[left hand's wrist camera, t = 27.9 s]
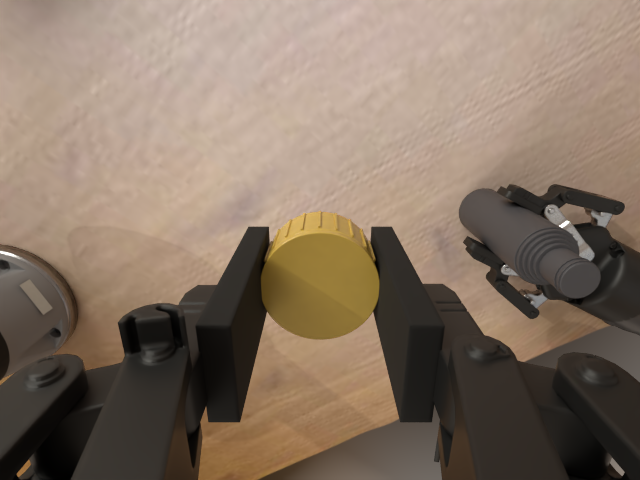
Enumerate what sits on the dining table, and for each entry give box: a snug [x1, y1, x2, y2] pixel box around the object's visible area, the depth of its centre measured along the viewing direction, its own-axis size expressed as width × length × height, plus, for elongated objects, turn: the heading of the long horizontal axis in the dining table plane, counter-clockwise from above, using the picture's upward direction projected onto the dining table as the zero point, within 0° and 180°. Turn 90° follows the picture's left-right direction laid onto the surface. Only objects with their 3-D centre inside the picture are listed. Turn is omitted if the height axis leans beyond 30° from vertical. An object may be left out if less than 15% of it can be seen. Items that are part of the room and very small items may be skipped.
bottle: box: [459, 189, 601, 298], centre depth 34 cm, size 5×5×17 cm
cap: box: [261, 211, 380, 339], centre depth 13 cm, size 4×4×2 cm
